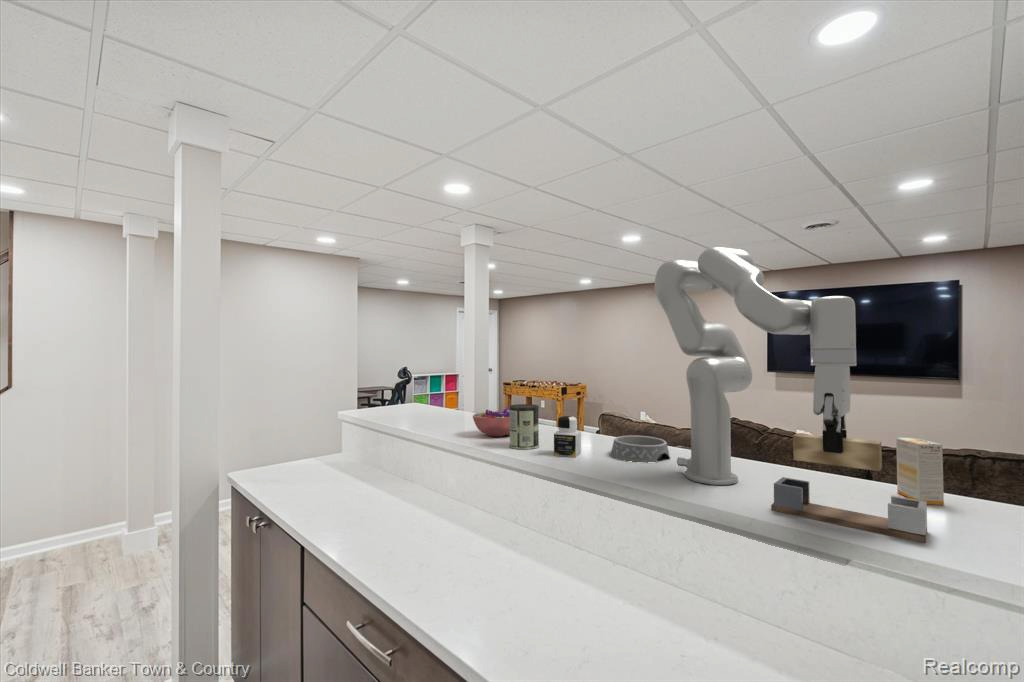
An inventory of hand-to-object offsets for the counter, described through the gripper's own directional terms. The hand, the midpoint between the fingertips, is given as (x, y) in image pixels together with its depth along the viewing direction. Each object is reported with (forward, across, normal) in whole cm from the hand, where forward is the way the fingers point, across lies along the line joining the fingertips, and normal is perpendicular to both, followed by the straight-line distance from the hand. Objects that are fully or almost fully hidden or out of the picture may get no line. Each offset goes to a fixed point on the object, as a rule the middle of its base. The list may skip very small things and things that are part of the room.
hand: (834, 449), depth 92 cm
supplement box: (+14, -28, +11) cm, 33 cm away
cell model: (+13, -16, -112) cm, 114 cm away
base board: (+14, 0, +1) cm, 14 cm away
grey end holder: (+12, 0, -8) cm, 15 cm away
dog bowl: (+14, -22, -55) cm, 61 cm away
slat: (+3, 0, 0) cm, 3 cm away
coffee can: (+13, -8, -91) cm, 92 cm away
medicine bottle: (+13, -9, -73) cm, 74 cm away
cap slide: (+12, 0, +11) cm, 16 cm away
